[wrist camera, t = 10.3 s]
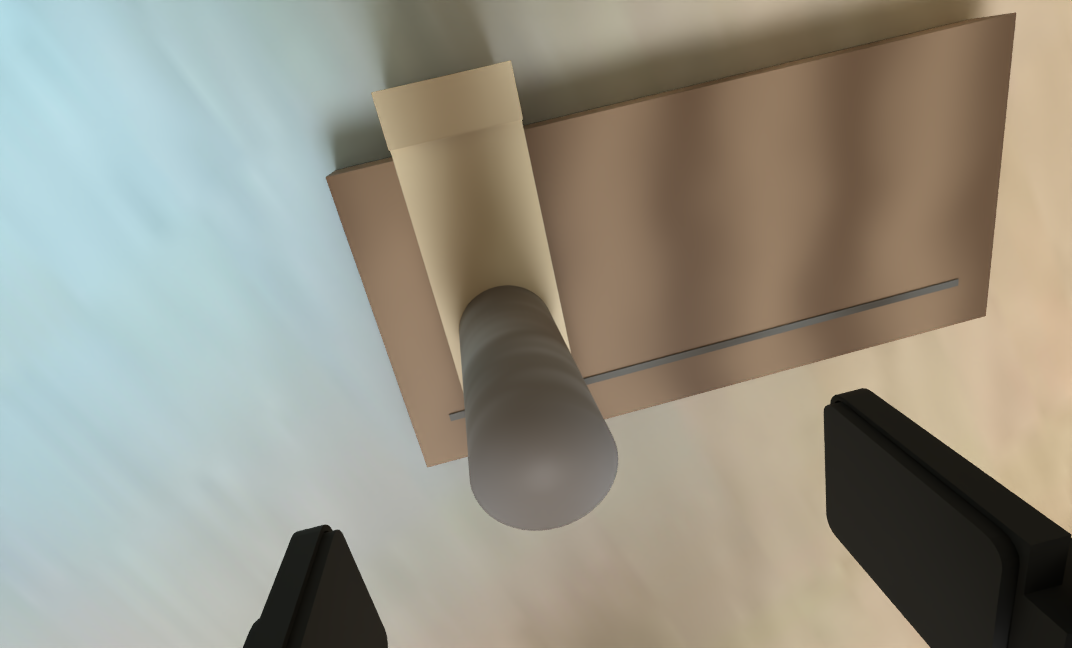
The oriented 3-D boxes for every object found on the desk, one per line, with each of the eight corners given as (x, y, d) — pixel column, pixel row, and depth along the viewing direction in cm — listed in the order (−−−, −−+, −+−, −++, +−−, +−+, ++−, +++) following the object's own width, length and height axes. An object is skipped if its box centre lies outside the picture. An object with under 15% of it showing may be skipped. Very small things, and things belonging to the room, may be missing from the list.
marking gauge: (497, 67, 20) (562, 32, 9) (575, 424, 26) (673, 663, 15) (385, 93, 20) (316, 88, 9) (489, 447, 26) (525, 708, 15)
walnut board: (969, 19, 23) (1018, 12, 21) (948, 301, 27) (987, 316, 25) (335, 170, 21) (324, 177, 19) (428, 440, 26) (427, 468, 24)
